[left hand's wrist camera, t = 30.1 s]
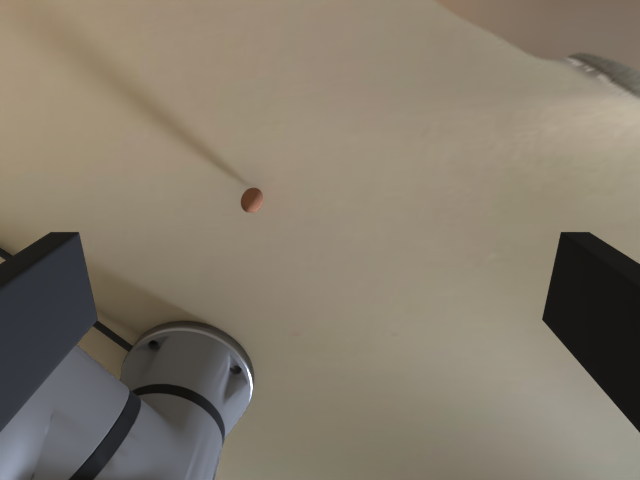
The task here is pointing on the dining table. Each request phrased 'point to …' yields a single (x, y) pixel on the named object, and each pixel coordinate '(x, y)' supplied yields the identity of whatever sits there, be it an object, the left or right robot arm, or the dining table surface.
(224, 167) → the dining table surface
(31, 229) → the dining table surface
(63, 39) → the dining table surface
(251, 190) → the brown ellipsoid
